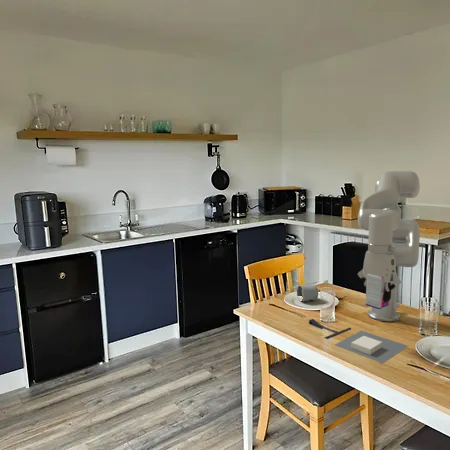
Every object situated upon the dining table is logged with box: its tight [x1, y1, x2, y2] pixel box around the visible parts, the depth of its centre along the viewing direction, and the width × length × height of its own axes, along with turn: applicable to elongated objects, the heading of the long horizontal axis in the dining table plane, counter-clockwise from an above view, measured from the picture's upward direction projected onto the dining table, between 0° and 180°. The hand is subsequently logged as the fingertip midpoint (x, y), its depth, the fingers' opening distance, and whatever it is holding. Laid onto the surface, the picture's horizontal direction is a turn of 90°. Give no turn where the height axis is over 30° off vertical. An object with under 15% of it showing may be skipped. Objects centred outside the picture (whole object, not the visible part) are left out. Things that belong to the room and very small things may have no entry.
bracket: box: [308, 318, 352, 340], centre depth 156 cm, size 14×15×3 cm
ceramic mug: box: [296, 284, 319, 302], centre depth 190 cm, size 11×8×8 cm
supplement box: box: [365, 274, 389, 309], centre depth 140 cm, size 6×6×12 cm
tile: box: [351, 336, 382, 355], centre depth 139 cm, size 2×7×8 cm
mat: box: [334, 329, 409, 364], centre depth 141 cm, size 18×18×1 cm
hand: (377, 298), depth 140 cm, fingers closed on supplement box, 6 cm apart
